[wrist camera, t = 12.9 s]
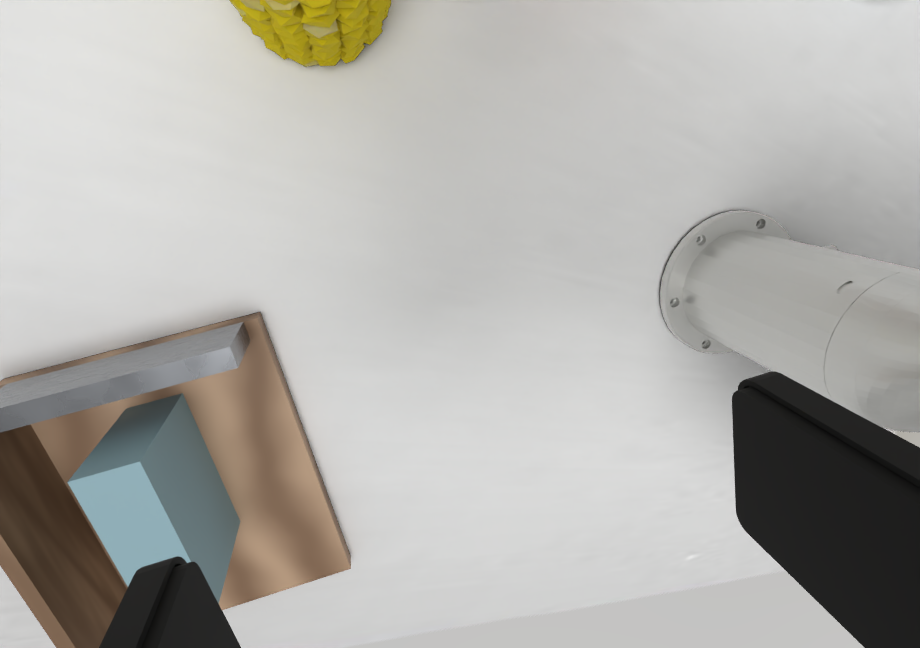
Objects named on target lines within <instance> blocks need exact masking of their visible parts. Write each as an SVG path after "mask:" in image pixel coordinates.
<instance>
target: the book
mask: <svg viewBox="0 0 920 648" xmlns="http://www.w3.org/2000/svg"><path fill="white" fill-rule="evenodd" d="M67 483H68V484H69V486H70V488H71V490H72V491H73V493H74V495H75V497H76V498H77V500H78V502H79V503H80V505H81V507H82V509H83V510H84V512H85V514H86V516H87V517H88V519H89V521H90V522H91V524H92V526H93V528H94V529H95V531H96V533H97V535H98V536H99V538H100V540H101V541H102V543H103V545H104V547H105V548H106V550H107V552H108V554H109V555H110V557H111V559H112V561H113V562H114V564H115V566H116V567H117V569H118V571H119V573H120V574H121V576H122V578H123V580H124V581H125V583H126V585H127V586H129V584H130V582H131V580H132V578H133V576H134V574H135V573H136V571H137V570H138V569H140V568H141V567H144V566H147V565H150V564H154V563H157V562H160V561H163V560H167V559H170V558H173V557H176V556H178V557H182V558H183V559H185V561H186V562H187V563H189V562H196V563H197V564H198V565H199V567H200V569H201V571H202V573H203V574H204V576H205V578H206V580H207V582H208V584H209V586H210V588H211V590H212V592H213V594H214V596H215V598H216V600H217V602H218V604H219V601H220V597H221V593H222V589H223V586H224V582H225V578H226V574H227V570H228V567H229V563H230V559H231V555H232V552H233V548H234V544H235V540H236V536H237V533H238V529H239V525H240V519H239V517H238V515H237V513H236V510H235V508H234V506H233V504H232V502H231V499H230V497H229V495H228V493H227V490H226V488H225V486H224V484H223V482H222V479H221V477H220V475H219V473H218V470H217V468H216V466H215V464H214V462H213V459H212V457H211V455H210V453H209V450H208V448H207V446H206V444H205V442H204V439H203V437H202V435H201V433H200V431H199V428H198V426H197V424H196V422H195V419H194V417H193V415H192V413H191V411H190V408H189V406H188V404H187V402H186V399H185V397H184V395H183V393H181V394H178V395H174V396H170V397H167V398H163V399H159V400H156V401H152V402H148V403H145V404H141V405H137V406H134V407H130V408H126V409H125V411H124V412H123V413H122V414H121V416H120V417H119V418H118V419H117V421H116V422H115V423H114V424H113V426H112V427H111V428H110V429H109V431H108V432H107V433H106V434H105V436H104V437H103V438H102V439H101V441H100V442H99V443H98V444H97V446H96V447H95V448H94V449H93V451H92V452H91V453H90V454H89V456H88V457H87V458H86V459H85V461H84V462H83V463H82V464H81V466H80V467H79V468H78V469H77V471H76V472H75V473H74V474H73V476H72V477H71V478H70V479H69V481H68V482H67Z"/></svg>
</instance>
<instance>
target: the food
mask: <svg viewBox="0 0 920 648" xmlns="http://www.w3.org/2000/svg"><path fill="white" fill-rule="evenodd" d="M230 2H231V3H232V4H233V5H234V7H235V8H236V9H237V10H238V11H239V13H240V15H241V17H243V18H242V20H243V21H244V22H245V23H246V24H247V25H249V26H250V27H251V30H252V32H253V34H255V35H257V36H259V37H261V39H263V40H264V42H265V46H266V48H268V49H270V50H272V51H274V52H275V53H277V54H278V55H279V56H280V57H282V58H283V59H287V58H290V59H292V60H294V61H296V62H298V63H299V64H301V65H303V66H305V67H307V66H312V65H317V64H319V65H320V66H333V65H336V64H337V63H338V61H339V60H340V59H342V60H343V61H344V62H345V63H348V62H351V61H353V60H355V59H356V57H357V56H358V55H359V54H360V52H361V51H362V50H363V49H364V48H365V46H364V44H363V43H366V44H369V45H371V44H372V42H373V41H374V40H375V39H376V38H377V37H378V36H379V35H380V34H381V33H382V28H381V27H382V25H383V23H382V21H383V20H384V19H385V18H386V17H387V16H388V9H389V8H390V5H391V0H230Z"/></svg>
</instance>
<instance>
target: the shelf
mask: <svg viewBox="0 0 920 648" xmlns="http://www.w3.org/2000/svg"><path fill="white" fill-rule="evenodd" d="M181 393H183V395H184V397H185V399H186V402H187V404H188V406H189V408H190V411H191V413H192V415H193V417H194V419H195V422H196V424H197V426H198V428H199V431H200V433H201V435H202V437H203V439H204V442H205V444H206V446H207V448H208V450H209V453H210V455H211V457H212V459H213V462H214V464H215V466H216V468H217V470H218V473H219V475H220V477H221V479H222V482H223V484H224V486H225V488H226V490H227V493H228V495H229V497H230V499H231V502H232V504H233V506H234V508H235V510H236V513H237V515H238V517H239V519H240V525H239V529H238V533H237V536H236V540H235V544H234V548H233V552H232V555H231V559H230V563H229V567H228V570H227V574H226V578H225V582H224V586H223V589H222V593H221V597H220V601H219V606H220V608H221V610H224V609H227V608H230V607H233V606H237V605H240V604H243V603H246V602H249V601H252V600H255V599H258V598H261V597H264V596H267V595H270V594H274V593H277V592H280V591H283V590H286V589H289V588H292V587H295V586H298V585H301V584H304V583H308V582H311V581H314V580H317V579H320V578H323V577H326V576H329V575H332V574H335V573H338V572H342V571H345V570H348V569H351V556H350V553H349V551H348V548H347V545H346V543H345V540H344V537H343V535H342V532H341V529H340V526H339V524H338V521H337V518H336V516H335V513H334V510H333V507H332V505H331V502H330V499H329V497H328V494H327V491H326V489H325V486H324V483H323V480H322V478H321V475H320V472H319V470H318V467H317V464H316V461H315V459H314V456H313V453H312V451H311V448H310V445H309V443H308V440H307V437H306V434H305V432H304V429H303V426H302V424H301V421H300V418H299V415H298V413H297V410H296V407H295V405H294V402H293V399H292V397H291V394H290V391H289V388H288V386H287V383H286V380H285V378H284V375H283V372H282V369H281V367H280V364H279V361H278V359H277V356H276V353H275V351H274V348H273V345H272V342H271V340H270V337H269V334H268V332H267V329H266V326H265V323H264V321H263V318H262V315H261V313H260V312H258V313H254V314H250V315H247V316H243V317H239V318H235V319H231V320H227V321H224V322H220V323H216V324H212V325H208V326H204V327H201V328H197V329H193V330H189V331H185V332H181V333H178V334H174V335H170V336H166V337H162V338H158V339H155V340H151V341H147V342H143V343H139V344H135V345H132V346H128V347H124V348H120V349H116V350H112V351H109V352H105V353H101V354H97V355H93V356H90V357H86V358H82V359H78V360H74V361H70V362H67V363H63V364H59V365H55V366H51V367H47V368H44V369H40V370H36V371H32V372H28V373H24V374H21V375H17V376H13V377H9V378H5V379H3V380H2V381H0V566H1V567H2V569H3V570H4V572H5V573H6V575H7V576H8V577H9V579H10V580H11V582H12V583H13V585H14V586H15V588H16V589H17V591H18V592H19V594H20V595H21V596H22V598H23V599H24V601H25V602H26V604H27V605H28V607H29V608H30V610H31V611H32V613H33V614H34V616H35V617H36V618H37V620H38V621H39V623H40V624H41V626H42V627H43V629H44V630H45V632H46V633H47V635H48V636H49V638H50V639H51V640H52V642H53V643H54V645H55V646H56V648H99V646H100V644H101V642H102V640H103V638H104V636H105V634H106V632H107V630H108V628H109V626H110V624H111V621H112V619H113V617H114V615H115V613H116V611H117V609H118V607H119V605H120V603H121V601H122V599H123V596H124V594H125V592H126V590H127V588H128V586H127V585H126V583H125V581H124V580H123V578H122V576H121V574H120V573H119V571H118V569H117V567H116V566H115V564H114V562H113V561H112V559H111V557H110V555H109V554H108V552H107V550H106V548H105V547H104V545H103V543H102V541H101V540H100V538H99V536H98V535H97V533H96V531H95V529H94V528H93V526H92V524H91V522H90V521H89V519H88V517H87V516H86V514H85V512H84V510H83V509H82V507H81V505H80V503H79V502H78V500H77V498H76V497H75V495H74V493H73V491H72V490H71V488H70V486H69V484H68V483H67V482H68V481H69V479H70V478H71V477H72V476H73V474H74V473H75V472H76V471H77V469H78V468H79V467H80V466H81V464H82V463H83V462H84V461H85V459H86V458H87V457H88V456H89V454H90V453H91V452H92V451H93V449H94V448H95V447H96V446H97V444H98V443H99V442H100V441H101V439H102V438H103V437H104V436H105V434H106V433H107V432H108V431H109V429H110V428H111V427H112V426H113V424H114V423H115V422H116V421H117V419H118V418H119V417H120V416H121V414H122V413H123V412H124V411H125V409H126V408H130V407H134V406H137V405H141V404H145V403H148V402H152V401H156V400H159V399H163V398H167V397H170V396H174V395H178V394H181Z"/></svg>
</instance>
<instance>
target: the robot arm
mask: <svg viewBox="0 0 920 648" xmlns="http://www.w3.org/2000/svg"><path fill="white" fill-rule="evenodd" d="M660 305H661V310H662V314H663V318H664V320H665V322H666V324H667V326H668V328H669V329H670V331H671V332H672V333H673V335H674V336H675V337H676V338H677V339H679V340H680V341H681V342H683V343H684V344H686V345H687V346H689V347H691V348H693V349H695V350H697V351H700V352H704V353H713V354H719V353H728V352H731V351H736V352H737V353H739V354H741V355H743V356H745V357H747V358H748V359H750V360H752V361H754V362H756V363H758V364H760V365H761V366H763V367H765V368H767V369H769V370H771V371H772V372H768V373H765V374H762V375H758V376H755V377H752V378H749V379H746V380H743V381H742V382H740V384H739V386H738V391H736V392H735V393H734V394H733V396H732V413H733V441H734V469H735V497H736V513H737V517H738V519H739V522H740V524H741V525H742V527H743V528H744V530H745V531H746V532H747V533H748V534H749V535H750V536H751V537H752V538H753V539H754V540H755V541H756V542H757V543H758V544H759V545H760V546H761V547H762V548H763V549H764V550H765V551H766V552H767V553H768V554H769V555H770V556H771V557H772V558H773V559H775V560H776V561H777V562H778V563H779V564H780V565H781V566H782V567H783V568H784V569H785V570H786V571H787V572H788V573H789V574H790V575H791V576H792V577H793V578H794V579H795V580H796V581H797V582H798V583H799V584H800V585H801V586H802V587H803V588H804V589H805V590H806V591H807V592H808V593H810V595H811V596H812V597H814V599H815V600H816V601H817V602H819V603H820V604H821V605H822V606H823V607H824V608H825V609H826V610H827V611H828V612H829V613H830V614H831V615H832V616H833V617H834V618H835V619H836V620H837V621H838V622H839V623H840V624H841V625H842V626H843V627H844V628H845V629H846V630H847V631H848V632H849V633H851V635H852V636H853V637H854V638H856V639H857V641H858V642H859V643H860V644H862V645H863V646H864V647H865V648H920V448H919V447H917V446H915V445H914V444H912V443H909V442H908V441H906V440H904V439H902V438H900V437H899V436H897V435H895V434H893V433H891V432H889V431H887V430H886V429H890V430H897V431H903V432H920V269H916V268H911V267H907V266H903V265H898V264H894V263H889V262H885V261H881V260H876V259H872V258H867V257H863V256H859V255H854V254H850V253H845V252H841V251H838V249H837V248H836V246H834V245H827V246H824V247H819V246H815V245H810V244H806V243H801V242H797V241H793V240H791V238H790V237H789V235H788V233H787V232H786V230H785V229H784V228H783V227H782V226H781V225H780V224H779V223H778V222H777V221H775V220H774V219H772V218H770V217H769V216H767V215H763V214H760V213H757V212H751V211H744V210H740V211H728V212H725V213H721V214H717V215H715V216H713V217H711V218H709V219H707V220H705V221H703V222H702V223H700V224H699V225H698V226H696V227H695V228H693V229H692V230H691V231H690V232H689V233H688V234H687V235H686V236H685V237H684V238H683V239H682V240H681V242H680V243H679V244H678V246H677V247H676V249H675V250H674V251H673V253H672V255H671V257H670V259H669V261H668V263H667V265H666V268H665V271H664V274H663V277H662V282H661V289H660ZM884 428H886V429H884ZM99 648H241V647H240V645H239V643H238V641H237V639H236V637H235V635H234V633H233V631H232V629H231V627H230V625H229V623H228V621H227V619H226V617H225V616H224V614H223V612H222V610H221V608H220V606H219V604H218V602H217V600H216V598H215V596H214V594H213V592H212V590H211V588H210V586H209V584H208V582H207V580H206V578H205V576H204V574H203V573H202V571H201V569H200V567H199V565H198V564H197V563H196V562H189V563H187V562H186V561H185V559H183V558H182V557H178V556H176V557H173V558H170V559H167V560H163V561H160V562H157V563H154V564H150V565H147V566H144V567H141V568H140V569H138V570H137V571H136V573H135V574H134V576H133V578H132V580H131V582H130V584H129V586H128V588H127V590H126V592H125V594H124V596H123V599H122V601H121V603H120V605H119V607H118V609H117V611H116V613H115V615H114V617H113V619H112V621H111V624H110V626H109V628H108V630H107V632H106V634H105V636H104V638H103V640H102V642H101V644H100V646H99Z"/></svg>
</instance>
